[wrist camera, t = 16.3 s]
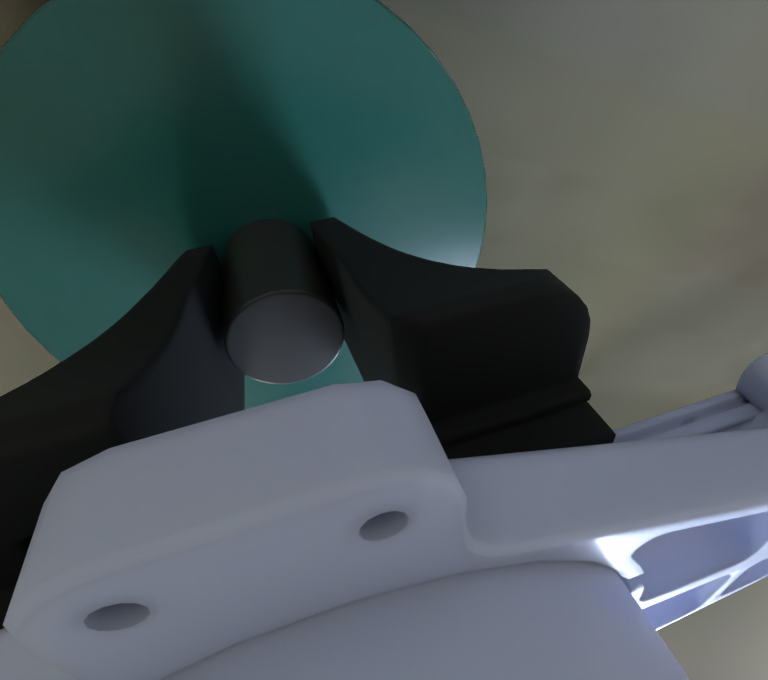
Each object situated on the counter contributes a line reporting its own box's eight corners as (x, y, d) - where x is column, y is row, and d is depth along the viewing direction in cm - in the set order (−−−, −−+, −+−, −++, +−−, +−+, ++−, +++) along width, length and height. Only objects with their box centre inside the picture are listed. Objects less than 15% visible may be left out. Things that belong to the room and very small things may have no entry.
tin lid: (491, 318, 16) (561, 404, 13) (187, 447, 16) (179, 569, 13) (423, -149, 8) (562, -239, 5) (-198, 86, 8) (-505, 162, 5)
